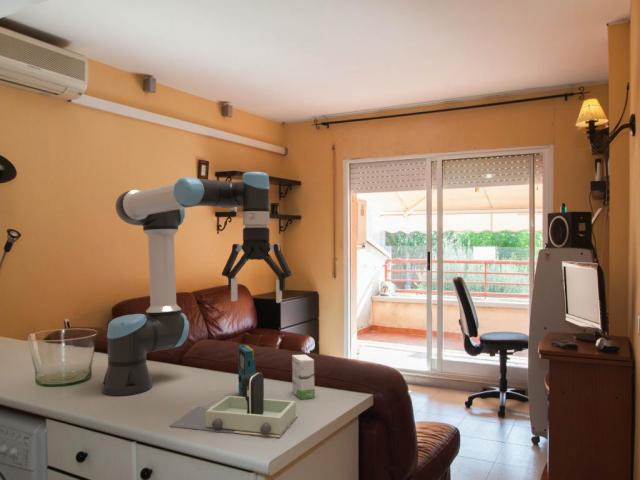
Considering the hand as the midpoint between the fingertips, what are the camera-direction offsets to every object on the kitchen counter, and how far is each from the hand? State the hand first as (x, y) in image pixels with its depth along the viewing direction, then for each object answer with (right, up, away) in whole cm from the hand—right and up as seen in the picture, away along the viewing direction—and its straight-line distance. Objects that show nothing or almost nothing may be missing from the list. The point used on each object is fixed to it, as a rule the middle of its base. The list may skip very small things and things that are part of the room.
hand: (256, 301), depth 144 cm
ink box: (+13, -31, +13) cm, 36 cm away
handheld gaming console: (-4, -31, +12) cm, 33 cm away
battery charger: (0, -29, -11) cm, 31 cm away
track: (-5, -31, -9) cm, 33 cm away
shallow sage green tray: (0, -31, -11) cm, 33 cm away
